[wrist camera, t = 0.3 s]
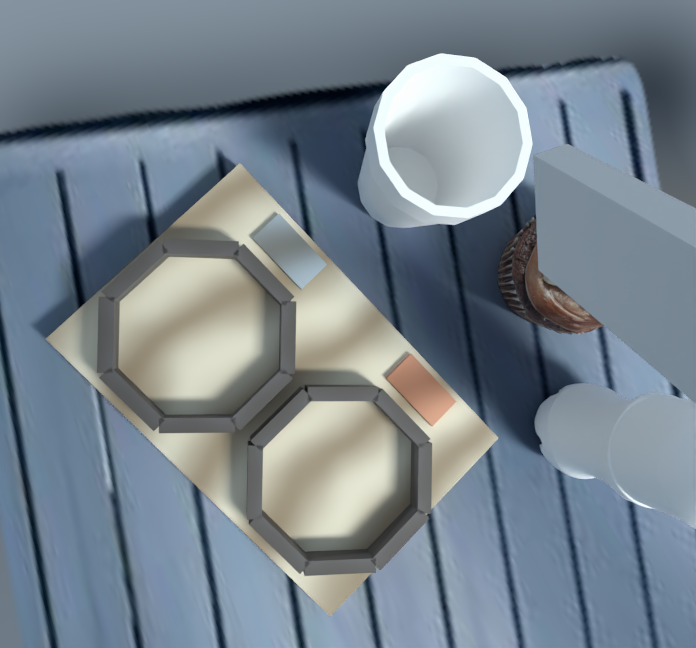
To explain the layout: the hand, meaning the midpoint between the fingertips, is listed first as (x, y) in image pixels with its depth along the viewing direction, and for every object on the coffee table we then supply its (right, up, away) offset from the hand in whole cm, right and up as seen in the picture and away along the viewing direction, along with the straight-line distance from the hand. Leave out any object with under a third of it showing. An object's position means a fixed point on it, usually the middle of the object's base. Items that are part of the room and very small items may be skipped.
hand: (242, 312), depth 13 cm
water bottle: (+20, -8, +39) cm, 44 cm away
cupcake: (+18, +4, +39) cm, 43 cm away
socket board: (-3, -5, +35) cm, 35 cm away
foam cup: (+6, +10, +37) cm, 39 cm away
